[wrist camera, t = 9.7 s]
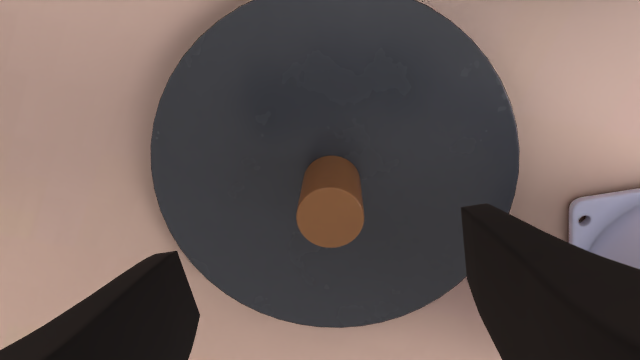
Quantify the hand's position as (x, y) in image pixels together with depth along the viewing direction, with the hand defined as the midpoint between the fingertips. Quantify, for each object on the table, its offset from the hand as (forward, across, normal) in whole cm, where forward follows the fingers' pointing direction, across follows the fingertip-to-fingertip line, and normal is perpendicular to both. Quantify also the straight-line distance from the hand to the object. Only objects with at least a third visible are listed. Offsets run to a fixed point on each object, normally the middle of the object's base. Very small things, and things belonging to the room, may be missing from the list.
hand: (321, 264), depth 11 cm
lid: (+8, 0, +1) cm, 8 cm away
